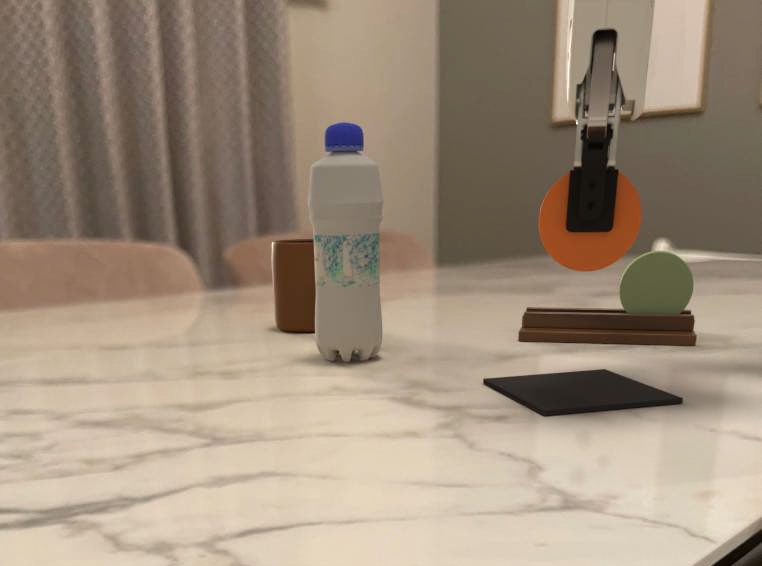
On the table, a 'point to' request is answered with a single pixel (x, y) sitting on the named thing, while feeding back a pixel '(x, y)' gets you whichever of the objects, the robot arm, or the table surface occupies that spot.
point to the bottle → (346, 246)
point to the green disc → (656, 284)
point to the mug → (294, 284)
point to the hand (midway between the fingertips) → (589, 229)
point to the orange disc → (589, 246)
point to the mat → (579, 392)
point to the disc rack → (606, 326)
